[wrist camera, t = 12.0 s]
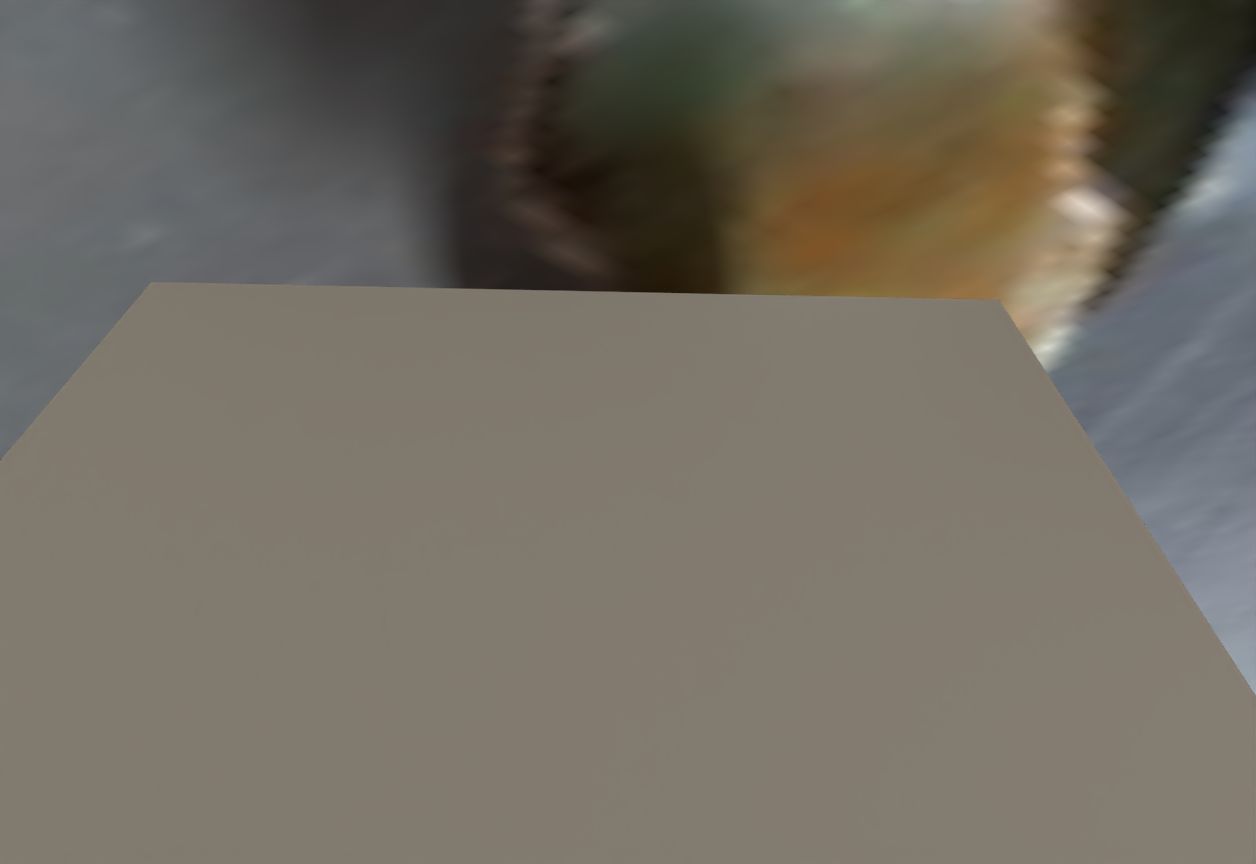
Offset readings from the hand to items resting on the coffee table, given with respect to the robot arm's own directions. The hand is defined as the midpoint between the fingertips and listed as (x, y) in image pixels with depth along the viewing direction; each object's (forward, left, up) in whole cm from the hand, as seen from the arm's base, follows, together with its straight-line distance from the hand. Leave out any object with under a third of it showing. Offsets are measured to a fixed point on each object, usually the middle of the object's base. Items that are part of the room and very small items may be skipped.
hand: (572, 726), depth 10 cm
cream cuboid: (0, 0, -2) cm, 2 cm away
